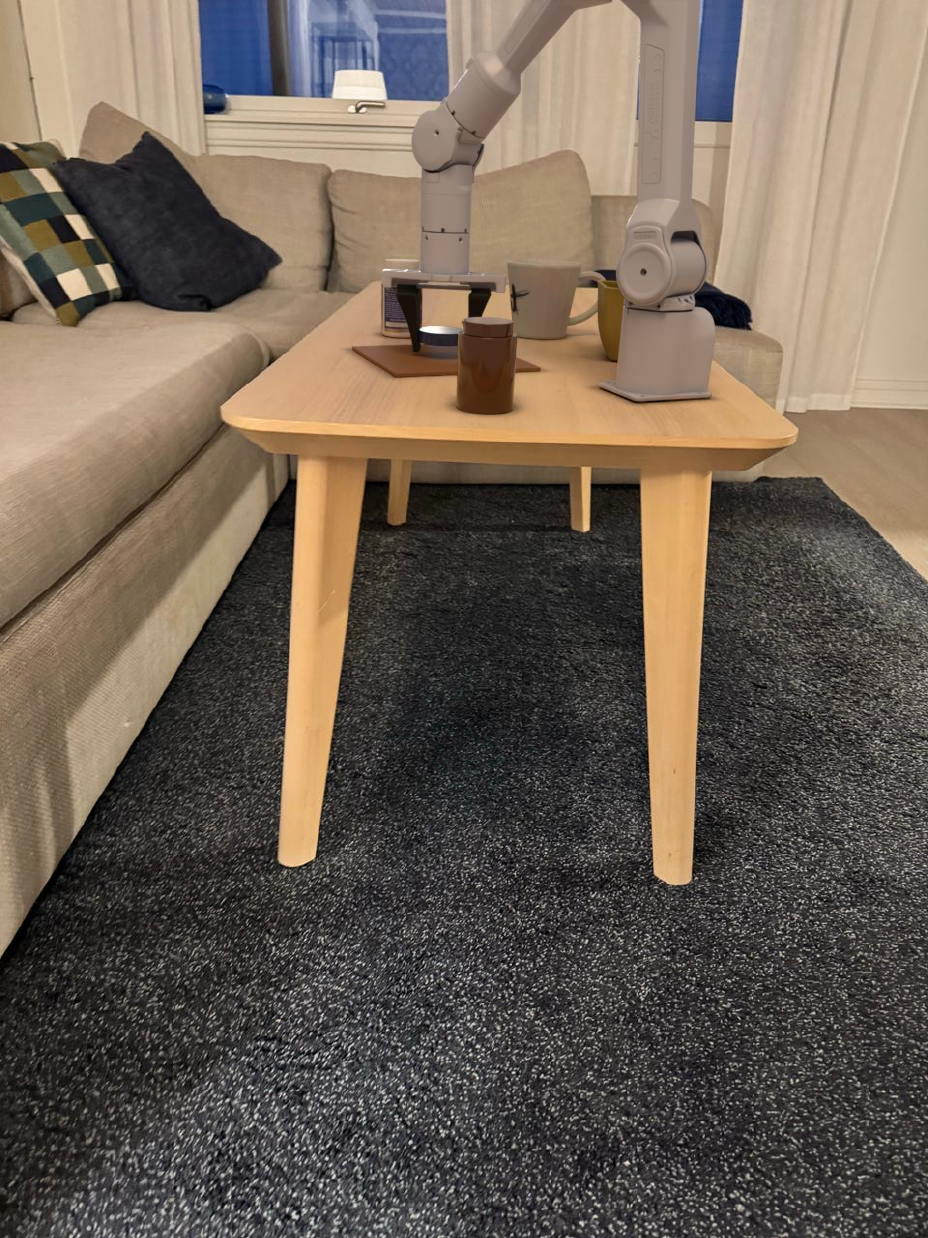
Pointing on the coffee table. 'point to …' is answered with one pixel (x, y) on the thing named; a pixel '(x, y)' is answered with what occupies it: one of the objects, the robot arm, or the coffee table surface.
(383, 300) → the pill bottle
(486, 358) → the jar
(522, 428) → the coffee table surface
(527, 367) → the mat
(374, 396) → the coffee table surface
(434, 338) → the lid
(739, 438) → the coffee table surface
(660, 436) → the coffee table surface
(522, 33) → the robot arm
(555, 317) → the mug
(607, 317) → the flower pot
